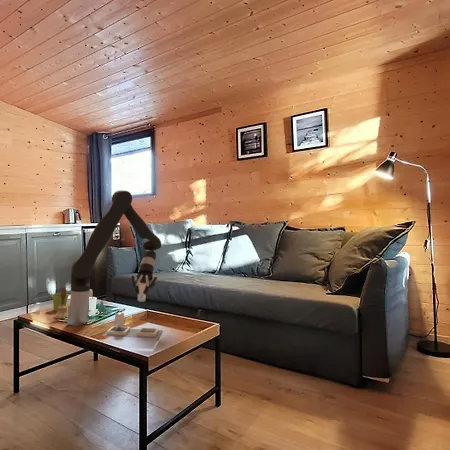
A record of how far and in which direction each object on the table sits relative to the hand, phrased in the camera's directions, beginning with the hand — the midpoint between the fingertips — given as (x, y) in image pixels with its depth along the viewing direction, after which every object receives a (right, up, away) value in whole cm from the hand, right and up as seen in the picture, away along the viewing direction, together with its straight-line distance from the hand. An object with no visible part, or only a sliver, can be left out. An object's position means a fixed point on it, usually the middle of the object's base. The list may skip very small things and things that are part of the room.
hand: (141, 293), depth 178 cm
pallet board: (-1, -18, -11) cm, 21 cm away
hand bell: (-48, -16, +15) cm, 53 cm away
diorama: (-26, -18, +27) cm, 42 cm away
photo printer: (-44, -16, +36) cm, 59 cm away
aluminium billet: (0, -4, +2) cm, 5 cm away
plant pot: (-56, -16, +30) cm, 65 cm away
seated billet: (-8, -16, -11) cm, 21 cm away
